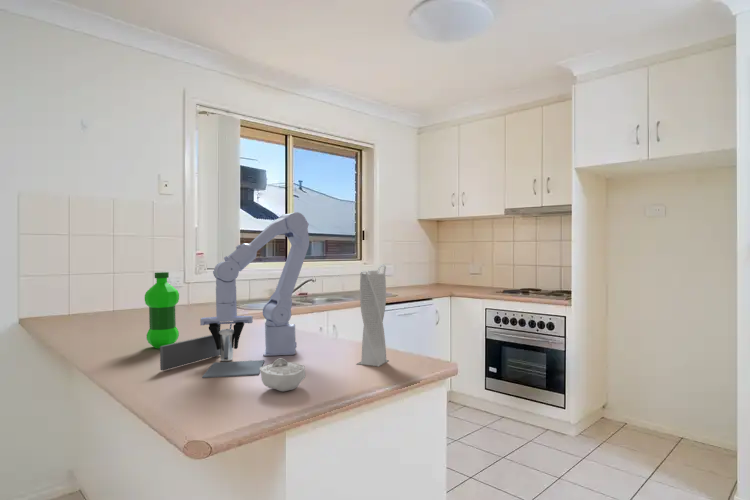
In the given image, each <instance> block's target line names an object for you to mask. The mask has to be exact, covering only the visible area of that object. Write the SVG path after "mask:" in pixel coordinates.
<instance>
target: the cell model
mask: <svg viewBox="0 0 750 500" xmlns="http://www.w3.org/2000/svg"><path fill="white" fill-rule="evenodd" d="M260 374H261V375H260V376H261V377H260V378H261V382H262V384H263V385H264V386H265V387H267V388H269V389H274V390H277V391H279V392H288V391H291V390H295V389H297V388H298V387H299V385H300V384H302V381H303V380H304V379H305V377H306V370H305V365H303V364H300V363H297V362H289V361H287V360H286V359H284V358H282V357H280V358H277V359H275V360H274V361H273V363H269V364H266V365H263V366H262V367H261V368H260Z"/></svg>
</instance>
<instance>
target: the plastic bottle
mask: <svg viewBox="0 0 750 500" xmlns="http://www.w3.org/2000/svg"><path fill="white" fill-rule="evenodd" d="M169 273H170V272H169V271H167V272H166V271H162V272H158V271H157V272H154V279H156V283H155V284H153V285H152V286H151V287H150V288H149V289H148V290H147V291H146V292H145V294H144V304H145V305H146V307H148V311H149V313H148V314H149V315H148V316H149V317H148V319H149V321H148V322H149V324H148V325H149V329H148V331H147V333H146V340H147V343H148V344H149V345H151V346H152V347H154V349H160V346H164V345H168V344H173V343H177V340H178V339H179V334H180V332H179V330H178V328H177V326H176V324H177V323H176V305H177V304H178V303H179V300H180V293H179V291H178V289H176V288H175V287H174V286H173V285H172V284H170V283H169V282H168V278H170V277H169V275H170V274H169Z"/></svg>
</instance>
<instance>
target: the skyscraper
mask: <svg viewBox="0 0 750 500" xmlns="http://www.w3.org/2000/svg"><path fill="white" fill-rule="evenodd" d="M382 267H383V272H382V273H381V272H380V270H381V268H382ZM386 270H387V266H386V265H385V264H380V265H379V267H378V269H369V270H362V271H360V277H359V278H360V279H359V304H360V305H359V306H360V312H361V313H360V314H361V318H362V322H363V331H362V341H361V342H362V343H361V360H360V361H359V362H357V363H356V365H358V366H369V367H377V368H380V367H382V366H383V365H385V364H386V363H388V362H390V360H388V359H387V348H386V347H387V345H386V337H385V328H384V318H385V311H386V304H387V303H386V302H387V285H386V284H387V282H386Z"/></svg>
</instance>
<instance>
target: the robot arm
mask: <svg viewBox="0 0 750 500" xmlns="http://www.w3.org/2000/svg"><path fill="white" fill-rule="evenodd" d="M308 227H309V222H308V221H307V219H306V217H305V215H304V214H303V213H301V212H299V211H295V212H292V213H285V214H282V215H280V216H279V217H278V218H276V219H275V220H273V221H272V222H271V223H270V224H268V226H266V227H265V229H263V230H262V231H260V233H259V234H258V235H256V237H255V238H253V240H252V241H251V242H249V243H242V244H237V246H235V250H234V251H232V252H231V253H230V254H228V255H225V256H224V257H223V260H224V261H220V262H218V263H217V264H216V265H215V266H214V269H213V271H212V274H213V277H214V278H215V285H216V286H215V302H216V303H215V305H216V306H215V307H216V308H215V312H216V313H215V315H216V316H208V317H201V318H200V321H199V322H200V326H205V325H209V326H208V330H209V333H210V335H212V336H213V338H214V340H215V343H216V348H217V350H219V349H220V342H219V331H221V327H222V325H230V324H233V326H232V328H233V330H234V347H233V350H237V349H238V348H239V340H240V337H241V334H242V331H243V330H244V329H243V328H244V327H245V324H252V323H253V315H238V311H237V310H238V307H237V305H238V304H237V302H238V301H237V285H236V284H237V283H236V279H237V278H238V276H239V274H240V272H242V271H243V270H244V269H245V268H246V267H248V266H249V264H251V263H252V262H253V261H254V260H256V258H257V255H258V254H257V253H258V251H259V250H261V249H262V248H263V247H264V246H265V245H266V244H268V243H269V242H270V241H271V240H273V239H274V238H275V237H277V236H279V235H284V236H285V237H287V239H288V241H289V243H290V245H291V246H290V249H289V252H288V254H287V257H286V260H285V263H284V266H283V269H282V270H281V273H280V274H281V275H280V277H279V280H278V282H277V286H276V288H275V290H274V292H273V293H272V295H270V297H269V300H268V301H267V302H266V304H265V305H264V307H263V308H262V315H263V318H264V319H265V320H266V321H265V322H264V335H265V336H264V337H265V338H264V339H265V340H264V341H265V345H264V346H265V348H264V352H263V357H269V356H270V357H272V356H291V355H296V350H297V340H296V323H290V322H289V321H290V320H291V317H292V306H293V299H292V295H293V293H294V290H295V286H296V284H297V280H298V277H299V276H300V272H301V269H302V267H303V264H304V261H305V258H306V256H307V252H308V250H309V247H310V237H309V228H308Z"/></svg>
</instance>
